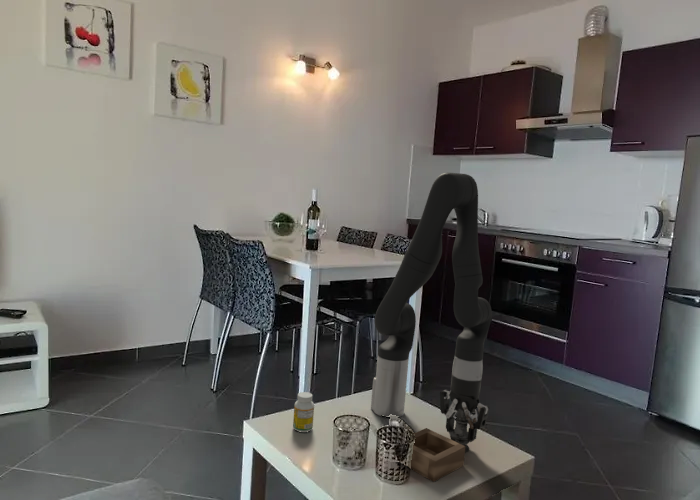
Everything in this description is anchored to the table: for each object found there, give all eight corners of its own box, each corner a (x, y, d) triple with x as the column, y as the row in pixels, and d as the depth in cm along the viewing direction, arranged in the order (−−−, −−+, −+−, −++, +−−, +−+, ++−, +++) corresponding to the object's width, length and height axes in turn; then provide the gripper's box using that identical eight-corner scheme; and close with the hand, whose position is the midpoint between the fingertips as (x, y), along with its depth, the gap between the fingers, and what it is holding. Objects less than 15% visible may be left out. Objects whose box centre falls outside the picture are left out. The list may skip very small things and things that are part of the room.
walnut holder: (394, 460, 127) (396, 440, 126) (424, 446, 135) (426, 427, 135) (433, 482, 118) (435, 461, 118) (463, 465, 127) (465, 446, 126)
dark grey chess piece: (470, 454, 133) (475, 409, 131) (447, 450, 134) (452, 405, 132) (470, 443, 138) (474, 400, 137) (448, 440, 139) (452, 397, 138)
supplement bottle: (310, 434, 137) (312, 399, 136) (290, 431, 138) (292, 397, 137) (314, 425, 142) (316, 392, 141) (295, 423, 143) (297, 389, 142)
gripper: (435, 368, 136) (429, 429, 138) (483, 386, 126) (476, 451, 128) (452, 363, 141) (446, 422, 143) (499, 380, 131) (492, 443, 133)
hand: (460, 435), depth 136 cm, fingers closed on dark grey chess piece, 6 cm apart
